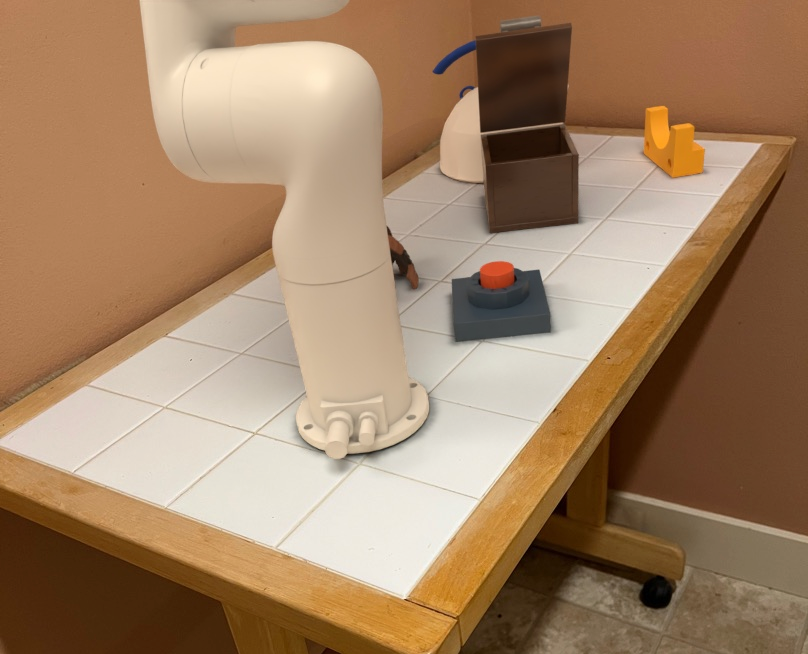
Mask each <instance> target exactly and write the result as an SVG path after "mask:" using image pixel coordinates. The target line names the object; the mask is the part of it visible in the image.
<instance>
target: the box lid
mask: <svg viewBox="0 0 808 654" xmlns="http://www.w3.org/2000/svg"><path fill="white" fill-rule="evenodd" d="M572 32H573V25H572V22H567V23H559V24H551V25H543V26H542V16H541V15H539V14H538V15H531V16H525V17H518V18H510V19H504V20H503V19H502V20H499V32H494V33H488V34H487V33H486V34H481V35H475V36H474V37H475V39H474V40H476V50H475V55H476V56H475V57H476V59H475V60H476V77H477V78H476V79H477V87H478V99H479V119H480V133H484V132H492V131H500V130H507V129H515V128H523V127H531V126H539V125H547V124H554V123H562V122H563V123H566V117H567V116H566V115H567V102H568V101H567V100H568V90H569V88H568V85H569V73H570V61H571V46H572ZM567 89H568V90H567Z"/></svg>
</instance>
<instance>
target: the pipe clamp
mask: <svg viewBox="0 0 808 654" xmlns="http://www.w3.org/2000/svg"><path fill="white" fill-rule="evenodd" d="M644 120H645V121H644V122H645V123H644V139H643V155H645V156H646V157H647V158H648V159H649V160H650V161H652V162H653V163H654V164H655V165H656V166H657V167H659V168H660V169H661V170H663V171H664V172H665V174H667V175H668V176H670V178H672V179H674V178H680V177H684V176H690V175H697V174H703V173H704V164H705V163H704V162H705V153H706V148H704V147H703V146H702V145H700V144H699V143H697V142H696V141H694V140H695V128H696V127H695V125H693V124H691V123H690V122H687V123H680V124H675V125H670V126H669V108H667V107H666V106H665V105H659V106H653V107H646V108H645V119H644ZM669 127H670V128H669Z"/></svg>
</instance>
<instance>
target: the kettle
mask: <svg viewBox="0 0 808 654" xmlns="http://www.w3.org/2000/svg"><path fill="white" fill-rule="evenodd" d="M474 51H476V39H474V40H472V41H469V42H467V43H465V44H462V45H461V46H459V47H456V48H455V49H454V50H453V51H451V52H450V53H448V54H447V55H445V56H444V57H443V58H442V59H441V60H440V61H438V62H437V64H436V66H435V67H434V68H433V70H432V73H433V74H434V75H443V74H444V73H445V72H446V71H447V69H448V68H449V67H451V65H453V63H455V62H457V60H460V59H461V58H462V57H464V56H466V55H468V54H470V53H472V52H474ZM569 87H570V85H569V84H568V89H567V91H568V90H569ZM467 90H469V91H468V92H467V93H466V94H465V95H464V93H465V91H467ZM459 99H460V100H459V101H458V102H457V103H455V105H454V107H453V108H452V110H451V112H450V114H449V115H448V117H447V118H446V121H445V122H444V126H443V128H442V132H441V135H440V138H439V159H440V160H439V163H440V164H439V169H440V171H441V172H442V174H443V175H445V176H447V177H448V178H449V179H452V180H455V181H458V182H464V183H471V184H484V180H483V165H482V150H481V134H488V133H496V132H504V131H512V130H520V129H528V128H535V127H543V126H551V125H560V124H564V122H562V123H554V124H547V125H539V126H531V127H523V128H515V129H507V130H500V131H492V132H484V133H480V119H479V99H478V86H476V87H475V86H473V85H467V86H464V87H463V88H462V89H461V90H460V92H459Z"/></svg>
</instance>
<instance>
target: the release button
mask: <svg viewBox="0 0 808 654" xmlns="http://www.w3.org/2000/svg"><path fill="white" fill-rule="evenodd" d="M514 268H515V267H514V265H513V263H511V262H508V261H503V260H496V261H490V262H487V263H485V264H482V266H480V268H479V271H480V280H481V286H482V287H484V288H490V289H498V288H505V287H508V286H510V285H513V284H514Z"/></svg>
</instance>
